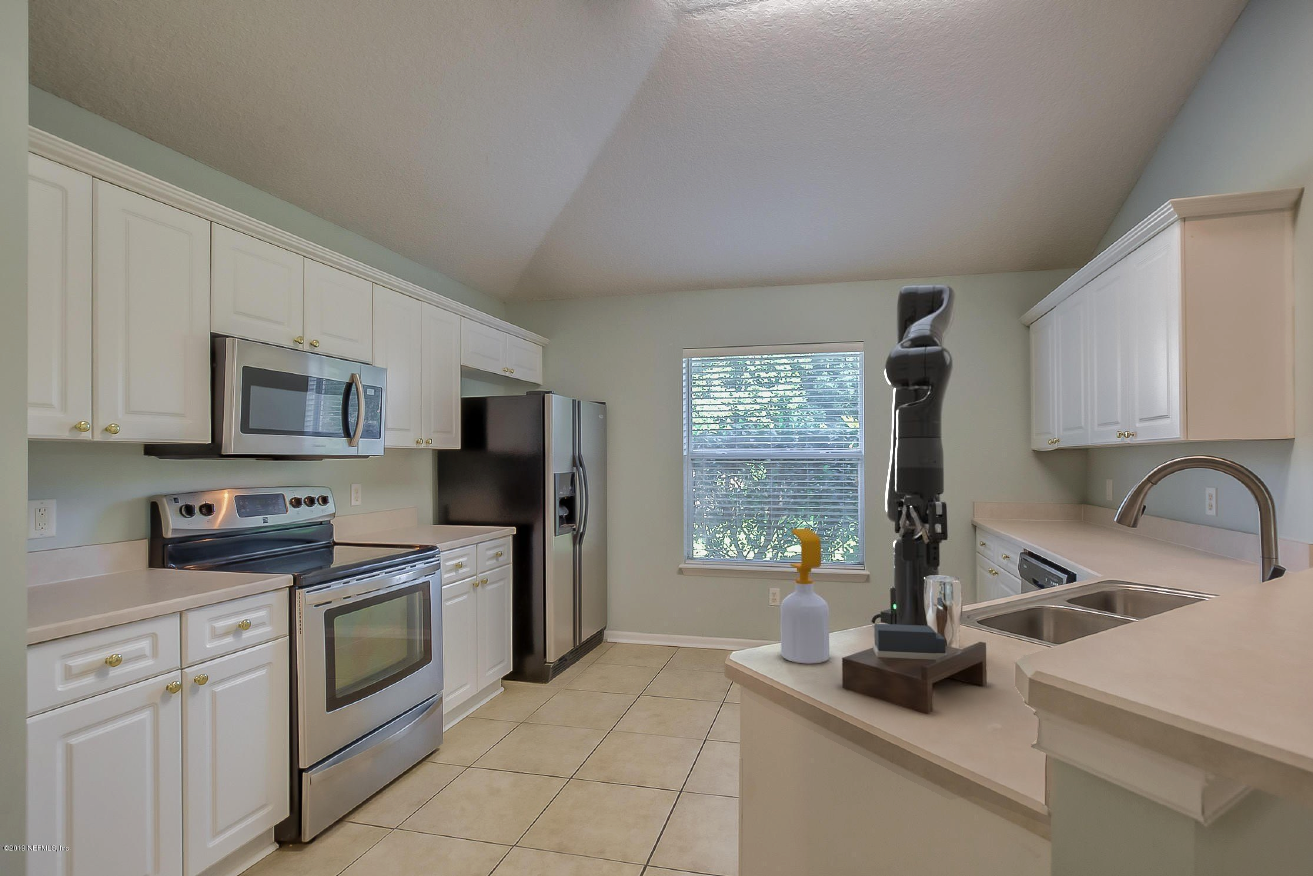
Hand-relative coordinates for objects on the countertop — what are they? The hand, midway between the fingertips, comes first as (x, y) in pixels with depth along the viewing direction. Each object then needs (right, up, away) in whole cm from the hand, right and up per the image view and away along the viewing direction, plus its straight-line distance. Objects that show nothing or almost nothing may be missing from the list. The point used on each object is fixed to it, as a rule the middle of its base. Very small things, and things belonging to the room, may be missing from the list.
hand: (919, 563), depth 109 cm
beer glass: (+12, -22, +19) cm, 31 cm away
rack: (0, -21, +2) cm, 21 cm away
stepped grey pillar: (-1, -16, +3) cm, 16 cm away
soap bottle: (-15, -22, +18) cm, 32 cm away
